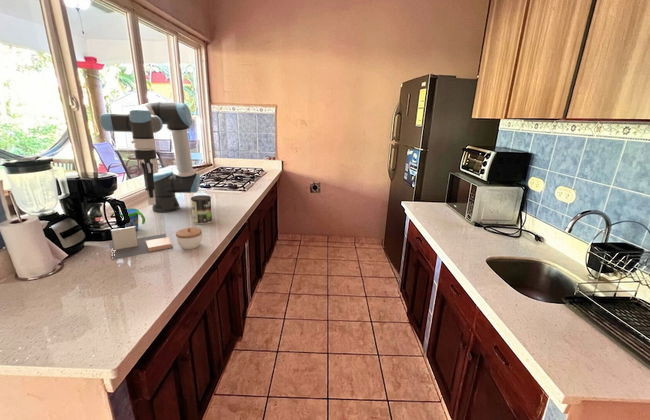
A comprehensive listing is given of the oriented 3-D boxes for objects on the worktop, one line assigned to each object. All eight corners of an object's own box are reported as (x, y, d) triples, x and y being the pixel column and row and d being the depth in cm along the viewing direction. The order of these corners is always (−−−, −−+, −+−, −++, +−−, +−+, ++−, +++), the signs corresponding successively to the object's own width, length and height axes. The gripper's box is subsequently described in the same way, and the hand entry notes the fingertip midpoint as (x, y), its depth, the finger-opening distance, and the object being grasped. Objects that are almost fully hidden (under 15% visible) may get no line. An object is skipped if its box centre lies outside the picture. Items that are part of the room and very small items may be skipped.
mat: (109, 243, 138) (109, 243, 138) (165, 234, 152) (165, 233, 151) (111, 261, 123) (111, 260, 123) (173, 249, 136) (173, 248, 136)
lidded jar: (178, 254, 132) (175, 234, 129) (176, 244, 141) (174, 225, 138) (204, 250, 137) (202, 230, 134) (201, 241, 146) (200, 223, 143)
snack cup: (107, 233, 150) (103, 213, 147) (120, 226, 160) (117, 207, 157) (138, 234, 150) (135, 215, 147) (150, 227, 160) (148, 208, 157)
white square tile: (114, 248, 133) (110, 229, 130) (137, 244, 138) (135, 226, 135) (114, 250, 131) (110, 231, 129) (138, 246, 137) (135, 227, 134)
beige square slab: (145, 240, 138) (148, 247, 131) (167, 237, 143) (171, 243, 136) (146, 244, 138) (148, 252, 131) (167, 240, 143) (171, 247, 136)
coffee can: (216, 219, 176) (214, 196, 172) (205, 225, 166) (204, 200, 162) (200, 217, 178) (198, 194, 174) (189, 223, 168) (186, 198, 164)
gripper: (132, 147, 127) (140, 201, 134) (136, 151, 117) (144, 209, 124) (152, 147, 132) (159, 199, 139) (157, 150, 122) (164, 206, 129)
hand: (152, 204), depth 131 cm, fingers closed
